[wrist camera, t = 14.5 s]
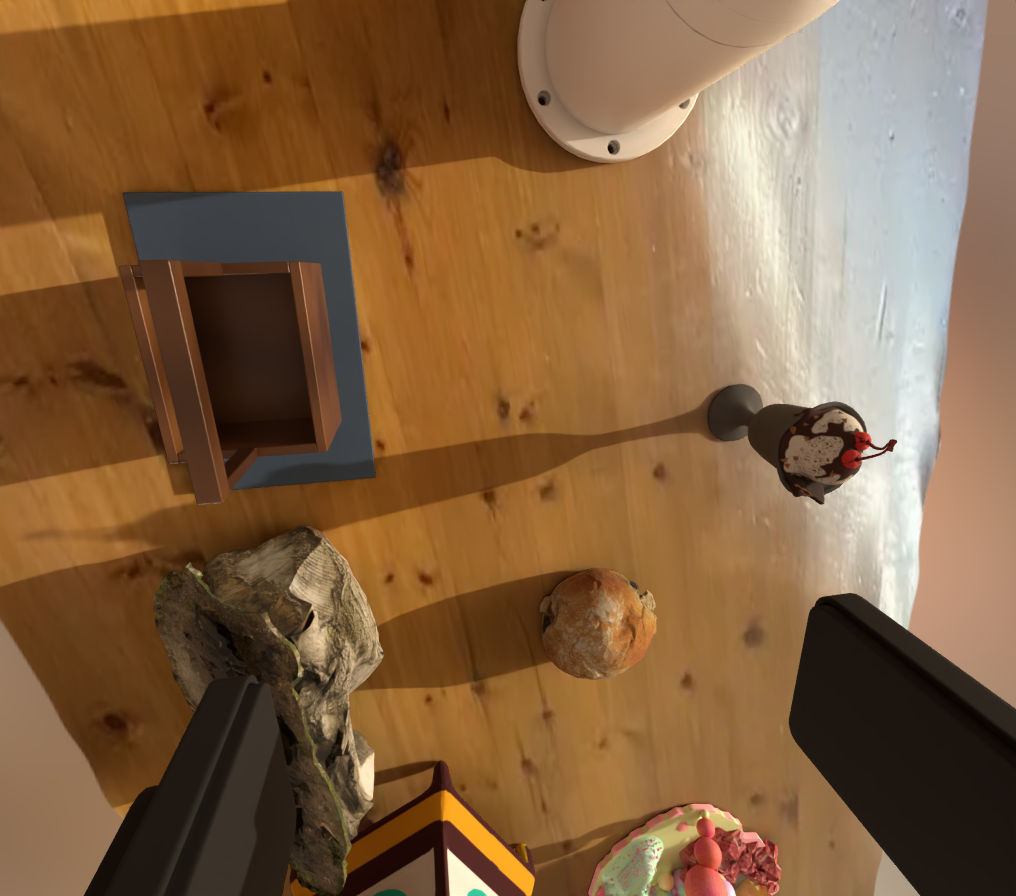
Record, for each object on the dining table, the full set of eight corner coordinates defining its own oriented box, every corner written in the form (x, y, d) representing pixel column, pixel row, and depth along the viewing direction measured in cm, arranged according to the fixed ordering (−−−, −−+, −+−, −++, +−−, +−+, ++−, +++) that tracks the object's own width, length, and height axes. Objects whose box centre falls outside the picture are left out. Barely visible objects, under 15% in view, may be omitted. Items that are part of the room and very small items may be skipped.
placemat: (125, 193, 32) (122, 192, 32) (343, 192, 34) (342, 191, 34) (196, 491, 39) (194, 493, 38) (375, 475, 41) (375, 477, 40)
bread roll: (552, 545, 50) (533, 591, 42) (664, 563, 47) (665, 616, 40) (545, 632, 53) (527, 689, 45) (651, 654, 50) (649, 718, 43)
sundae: (759, 359, 43) (926, 401, 29) (778, 428, 46) (940, 498, 32) (688, 395, 43) (820, 454, 29) (711, 462, 46) (843, 547, 31)
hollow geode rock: (341, 734, 54) (450, 823, 45) (214, 839, 44) (323, 976, 36) (306, 484, 44) (436, 540, 36) (133, 549, 34) (257, 646, 26)
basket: (175, 265, 34) (30, 262, 21) (320, 262, 35) (267, 257, 22) (211, 431, 37) (106, 513, 25) (342, 422, 39) (307, 495, 26)
